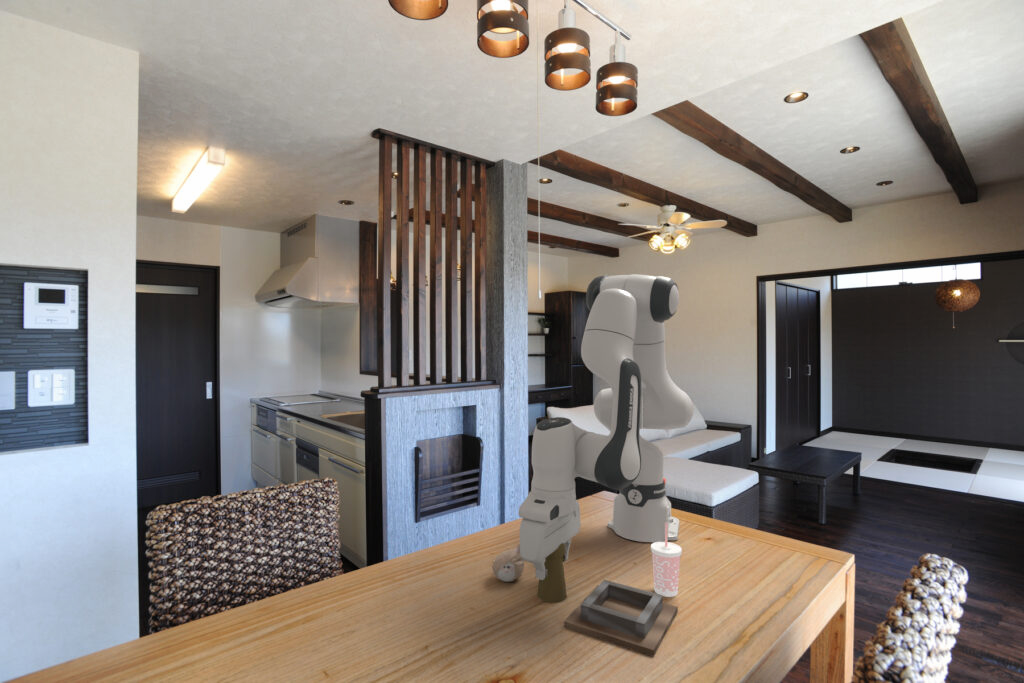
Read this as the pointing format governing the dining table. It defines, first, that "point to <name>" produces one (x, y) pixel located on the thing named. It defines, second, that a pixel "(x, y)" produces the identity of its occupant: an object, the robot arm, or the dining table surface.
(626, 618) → the socket base
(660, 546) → the beverage cup
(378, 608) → the dining table surface
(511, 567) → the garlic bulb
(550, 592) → the olive pawn peg
